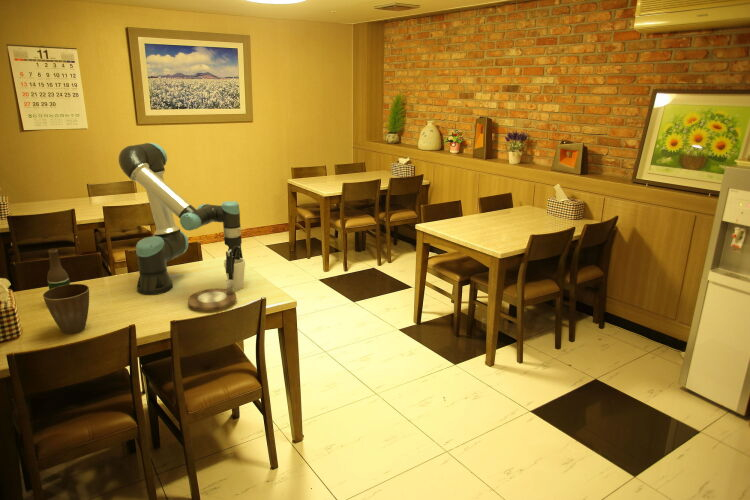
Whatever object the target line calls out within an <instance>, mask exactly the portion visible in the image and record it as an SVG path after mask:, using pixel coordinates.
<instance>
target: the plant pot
mask: <svg viewBox="0 0 750 500" xmlns="http://www.w3.org/2000/svg"><path fill="white" fill-rule="evenodd" d="M42 297H43V300H44V303H45V305H46V307H47V309H48V311H49V313H50V315H51V317H52V319H53V321H54V322H55V324H56V325H57V327H58V328H59V329H60V331H61V332H62V333H63V334H64V335H65V334H66V335H74V334H78V333H81V332H83V331H84V330H85V329H86V326H87V321H88V314H89V308H90V287H89V286H88V285H87V284H83V283H70V284H69V285H63V286H58V287H55V288H52V289H50V290H49V289H48V290H46V291H44V293H43V294H42Z"/></svg>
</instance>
